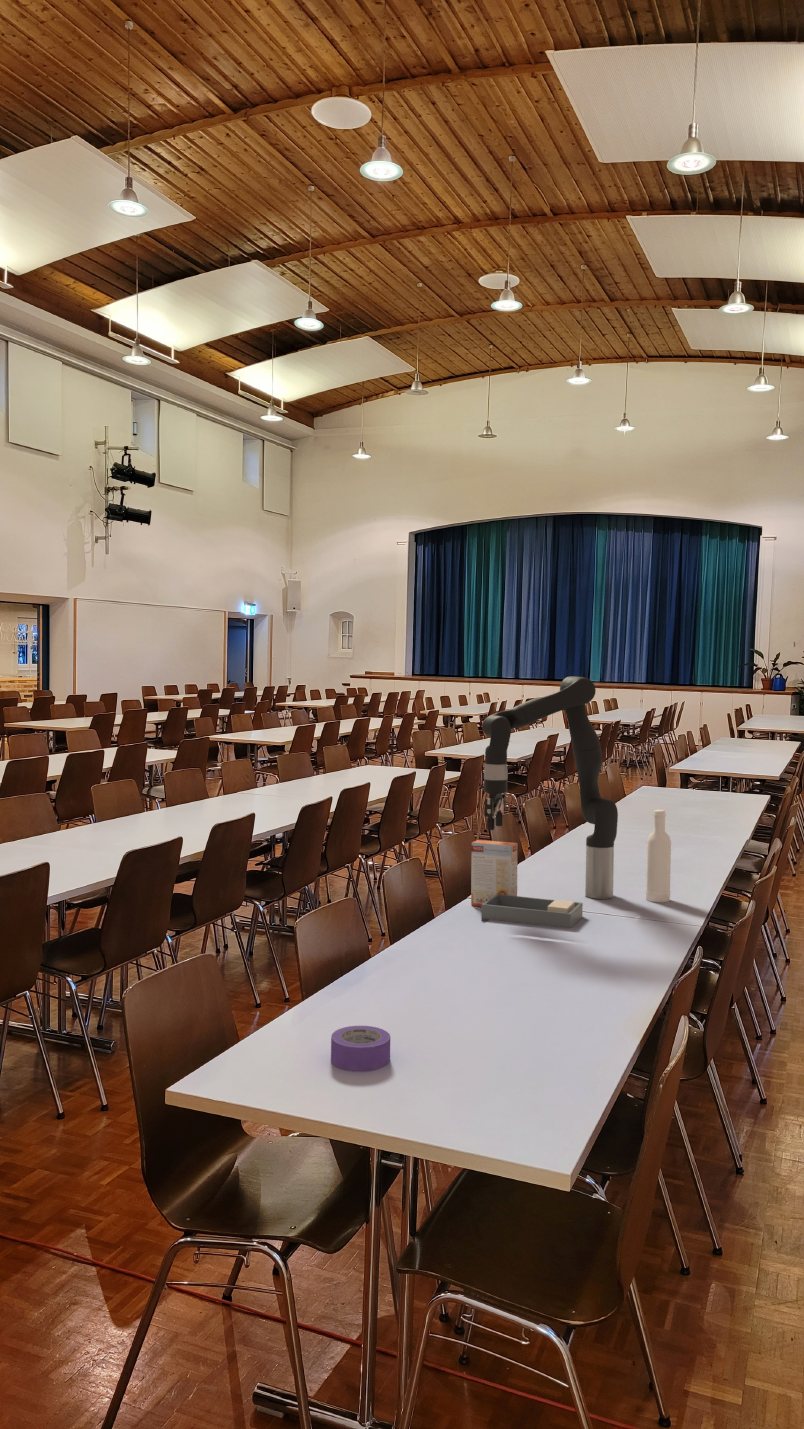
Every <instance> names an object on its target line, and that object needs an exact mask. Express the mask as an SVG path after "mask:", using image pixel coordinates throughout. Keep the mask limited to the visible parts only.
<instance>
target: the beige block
mask: <svg viewBox="0 0 804 1429" xmlns="http://www.w3.org/2000/svg"><path fill="white" fill-rule="evenodd" d="M554 900H555V901H553V902H552V903H551V904H550V905H549V906H548V909H547V911H553V912H562V913H569V912H570V911H572V910H573V909H574V902H575V901H569V900H561V899H554Z"/></svg>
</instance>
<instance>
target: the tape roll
mask: <svg viewBox="0 0 804 1429" xmlns="http://www.w3.org/2000/svg"><path fill="white" fill-rule="evenodd" d="M330 1037H331V1038H330V1039H331V1040H330V1062H331V1064H332V1065H333V1066H335V1068H338V1069H340V1070H343V1071H348V1072H354V1073H355V1072H357V1073H358V1072H361V1073H362V1072H373V1071H376V1070H377V1071H378V1070H380V1069H383V1068H385V1067H386V1066H388V1065H389V1063H390V1061H391V1034H390V1033H389V1032H388V1031H387V1030H385V1029H383V1028H380V1027H376V1026H371V1025H370V1026H369V1025H352V1026H351V1025H350V1026H349V1025H348V1026H345V1027H344V1026H343V1027H341V1028H339V1029H336V1030H334V1031H333V1032H332V1034H331V1035H330Z"/></svg>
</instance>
